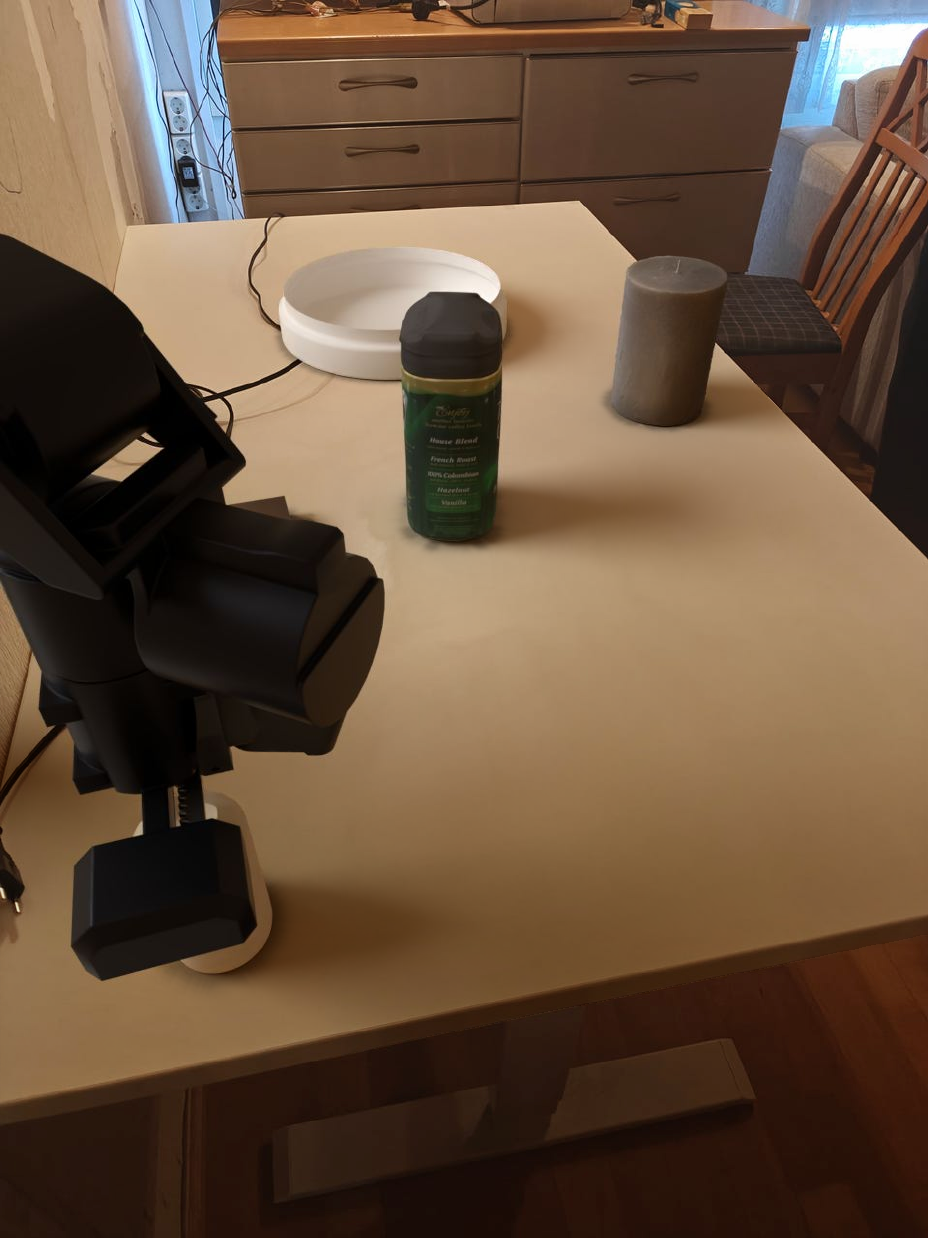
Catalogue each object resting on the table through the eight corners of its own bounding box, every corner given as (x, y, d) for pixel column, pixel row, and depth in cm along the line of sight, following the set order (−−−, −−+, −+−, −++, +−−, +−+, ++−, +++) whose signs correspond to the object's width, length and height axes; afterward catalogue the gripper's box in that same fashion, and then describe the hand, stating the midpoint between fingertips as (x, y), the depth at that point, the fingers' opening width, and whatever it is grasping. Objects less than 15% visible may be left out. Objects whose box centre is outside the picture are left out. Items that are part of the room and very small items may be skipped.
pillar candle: (719, 419, 89) (752, 271, 79) (632, 433, 87) (654, 283, 77) (676, 377, 96) (701, 236, 86) (594, 389, 94) (610, 246, 84)
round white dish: (525, 297, 113) (528, 254, 109) (476, 393, 93) (477, 345, 89) (329, 278, 118) (325, 236, 114) (244, 365, 98) (236, 318, 94)
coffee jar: (498, 546, 73) (506, 334, 61) (404, 545, 73) (392, 333, 61) (497, 483, 80) (503, 281, 68) (411, 482, 80) (402, 280, 68)
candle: (167, 896, 49) (121, 787, 42) (266, 870, 50) (235, 760, 43) (174, 988, 45) (123, 884, 38) (280, 958, 46) (249, 852, 40)
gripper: (375, 769, 28) (398, 991, 38) (291, 468, 41) (325, 694, 52) (4, 856, 26) (137, 1067, 36) (41, 507, 39) (130, 735, 49)
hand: (197, 859), depth 43 cm, fingers open, 9 cm apart
